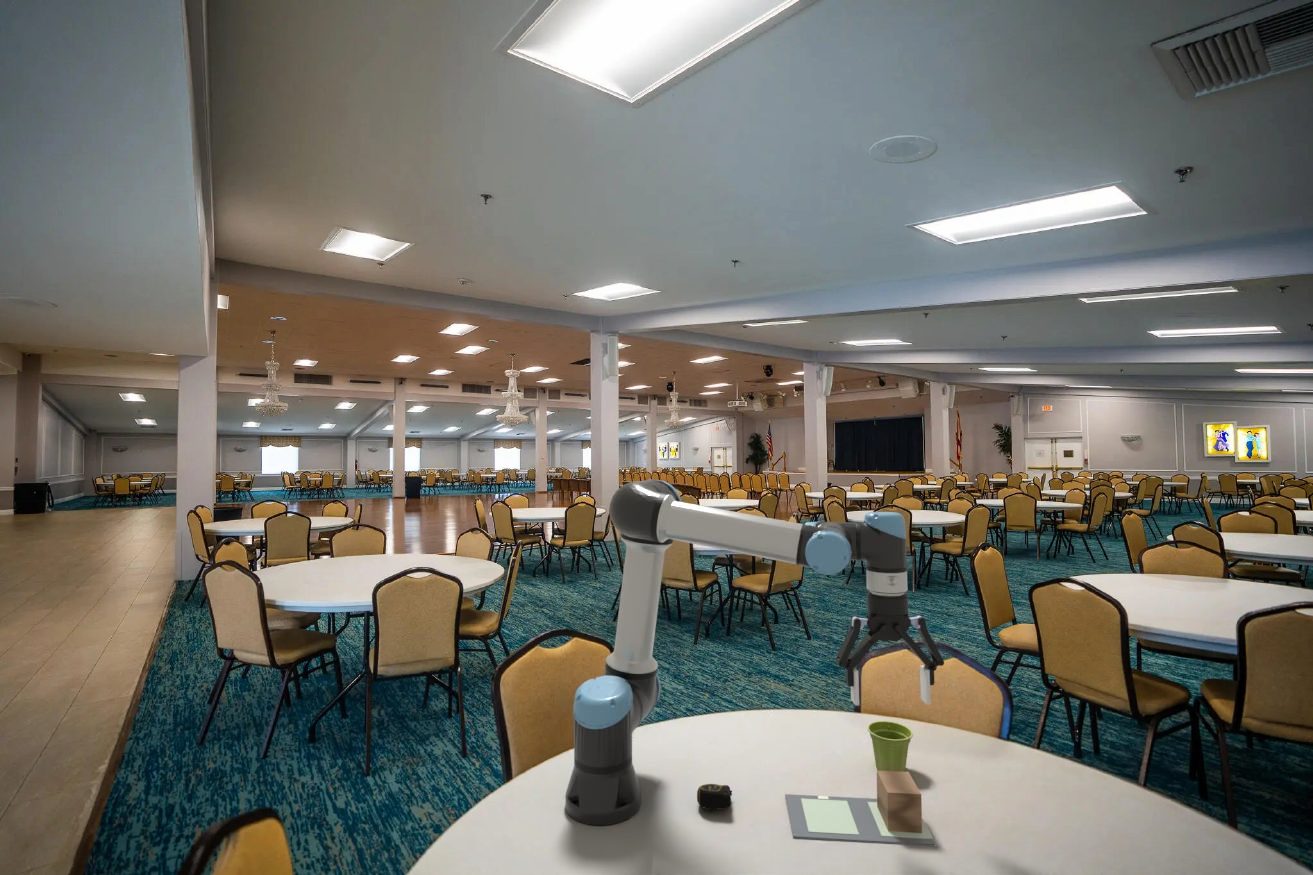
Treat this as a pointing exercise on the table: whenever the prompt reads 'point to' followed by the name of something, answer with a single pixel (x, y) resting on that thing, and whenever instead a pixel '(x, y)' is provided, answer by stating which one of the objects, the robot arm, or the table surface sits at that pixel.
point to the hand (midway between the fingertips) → (890, 702)
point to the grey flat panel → (845, 821)
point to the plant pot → (890, 745)
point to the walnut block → (899, 801)
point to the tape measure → (714, 796)
